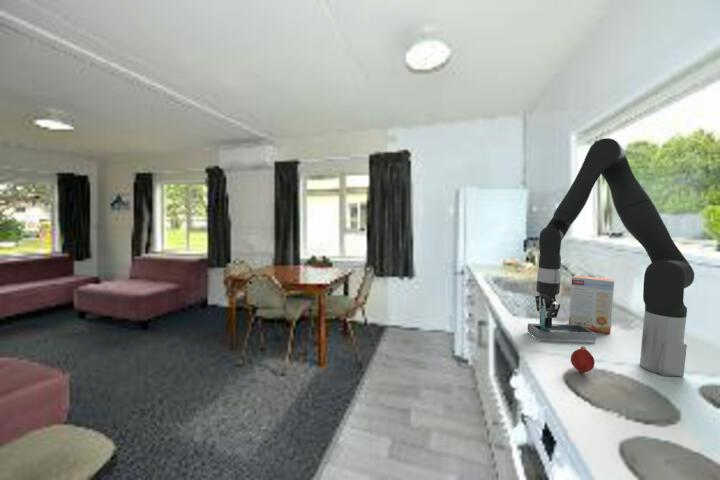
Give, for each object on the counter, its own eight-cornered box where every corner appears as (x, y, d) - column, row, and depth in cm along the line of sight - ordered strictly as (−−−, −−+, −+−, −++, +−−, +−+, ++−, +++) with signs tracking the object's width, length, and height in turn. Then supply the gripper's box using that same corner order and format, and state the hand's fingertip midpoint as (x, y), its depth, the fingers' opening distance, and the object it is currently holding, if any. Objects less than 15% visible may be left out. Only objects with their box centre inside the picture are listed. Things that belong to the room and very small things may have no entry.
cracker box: (610, 330, 136) (615, 279, 134) (610, 334, 131) (614, 281, 129) (569, 323, 145) (573, 274, 143) (568, 326, 140) (571, 276, 138)
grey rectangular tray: (595, 343, 122) (595, 333, 122) (538, 341, 123) (539, 331, 122) (579, 334, 131) (580, 324, 131) (527, 332, 132) (527, 323, 131)
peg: (557, 337, 124) (559, 310, 123) (540, 336, 124) (542, 309, 123) (548, 331, 130) (550, 305, 129) (532, 330, 130) (534, 305, 129)
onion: (571, 366, 103) (573, 340, 102) (594, 372, 99) (596, 346, 98) (568, 373, 98) (570, 346, 98) (592, 379, 95) (594, 352, 94)
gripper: (570, 284, 118) (566, 332, 120) (548, 276, 132) (545, 320, 134) (548, 284, 118) (544, 332, 120) (529, 276, 132) (526, 319, 134)
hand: (545, 325), depth 127 cm, fingers closed on peg, 3 cm apart
